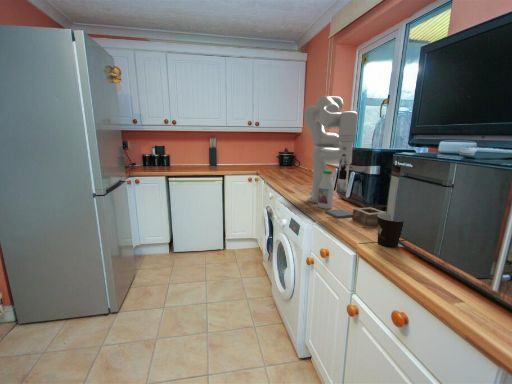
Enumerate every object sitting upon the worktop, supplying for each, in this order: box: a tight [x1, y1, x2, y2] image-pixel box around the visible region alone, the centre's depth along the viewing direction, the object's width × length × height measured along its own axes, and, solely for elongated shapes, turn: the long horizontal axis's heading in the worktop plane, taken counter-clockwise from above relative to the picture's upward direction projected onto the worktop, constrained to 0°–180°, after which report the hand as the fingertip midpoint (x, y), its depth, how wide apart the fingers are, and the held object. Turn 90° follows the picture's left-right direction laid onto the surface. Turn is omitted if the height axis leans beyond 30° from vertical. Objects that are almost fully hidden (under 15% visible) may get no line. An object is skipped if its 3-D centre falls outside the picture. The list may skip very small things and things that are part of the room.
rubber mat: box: [324, 208, 353, 219], centre depth 127 cm, size 10×10×1 cm
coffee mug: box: [377, 213, 404, 249], centre depth 92 cm, size 12×9×10 cm
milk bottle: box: [317, 169, 335, 210], centre depth 138 cm, size 8×8×20 cm
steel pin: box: [336, 164, 350, 193], centre depth 123 cm, size 4×4×13 cm
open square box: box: [351, 206, 387, 227], centre depth 117 cm, size 10×10×5 cm
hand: (343, 178), depth 123 cm, fingers closed on steel pin, 4 cm apart
